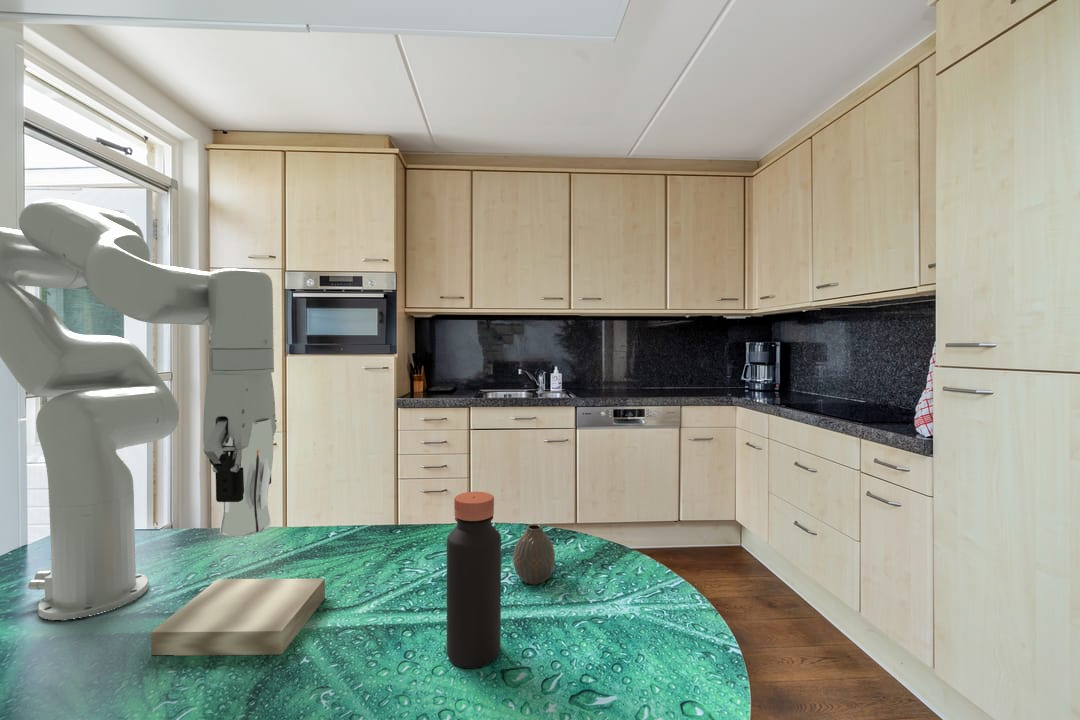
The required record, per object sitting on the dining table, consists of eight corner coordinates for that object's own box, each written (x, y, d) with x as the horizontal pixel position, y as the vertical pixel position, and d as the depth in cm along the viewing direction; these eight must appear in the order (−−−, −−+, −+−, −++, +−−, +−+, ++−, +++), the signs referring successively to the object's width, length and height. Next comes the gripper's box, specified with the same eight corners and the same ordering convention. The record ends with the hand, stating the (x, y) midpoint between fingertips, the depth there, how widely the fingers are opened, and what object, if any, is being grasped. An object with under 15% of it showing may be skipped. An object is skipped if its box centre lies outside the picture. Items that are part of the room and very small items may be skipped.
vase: (506, 583, 84) (506, 530, 83) (523, 566, 90) (523, 517, 90) (545, 592, 81) (546, 537, 81) (560, 573, 87) (561, 522, 87)
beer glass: (248, 540, 67) (246, 425, 66) (203, 536, 68) (200, 423, 67) (285, 521, 73) (284, 417, 73) (243, 518, 75) (241, 415, 74)
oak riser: (151, 655, 64) (150, 632, 64) (218, 598, 78) (217, 579, 78) (281, 654, 65) (281, 631, 64) (324, 597, 79) (324, 578, 78)
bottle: (486, 675, 61) (486, 509, 60) (436, 662, 63) (436, 502, 62) (509, 643, 67) (510, 492, 66) (463, 632, 70) (463, 486, 69)
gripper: (248, 359, 78) (251, 475, 79) (170, 365, 61) (174, 514, 62) (298, 359, 78) (300, 475, 79) (234, 365, 61) (237, 514, 62)
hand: (245, 491), depth 70 cm, fingers closed on beer glass, 6 cm apart
